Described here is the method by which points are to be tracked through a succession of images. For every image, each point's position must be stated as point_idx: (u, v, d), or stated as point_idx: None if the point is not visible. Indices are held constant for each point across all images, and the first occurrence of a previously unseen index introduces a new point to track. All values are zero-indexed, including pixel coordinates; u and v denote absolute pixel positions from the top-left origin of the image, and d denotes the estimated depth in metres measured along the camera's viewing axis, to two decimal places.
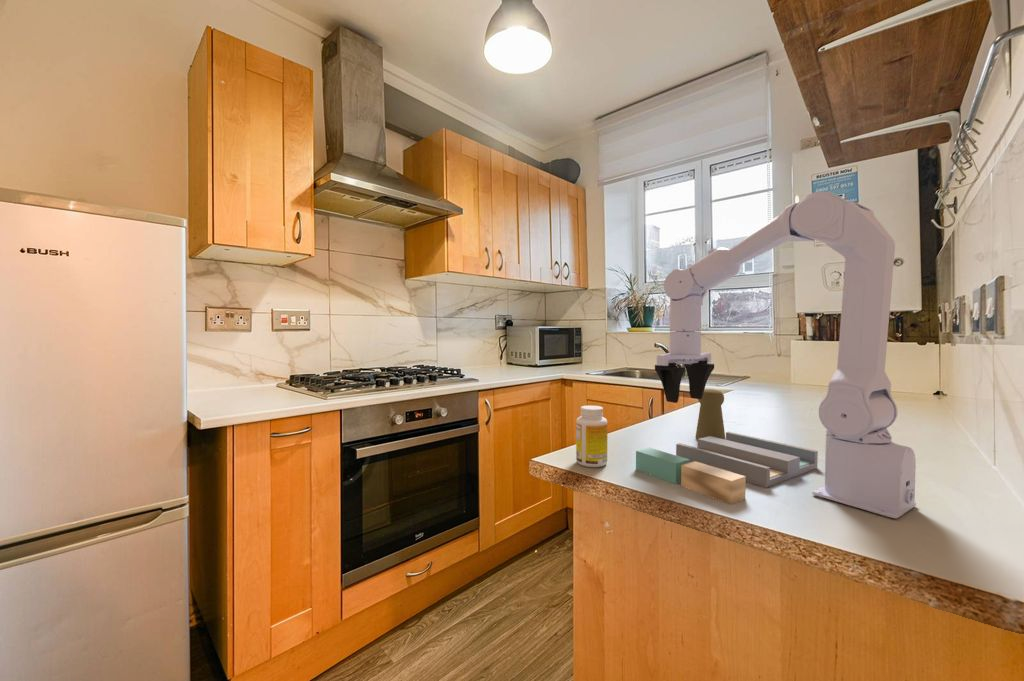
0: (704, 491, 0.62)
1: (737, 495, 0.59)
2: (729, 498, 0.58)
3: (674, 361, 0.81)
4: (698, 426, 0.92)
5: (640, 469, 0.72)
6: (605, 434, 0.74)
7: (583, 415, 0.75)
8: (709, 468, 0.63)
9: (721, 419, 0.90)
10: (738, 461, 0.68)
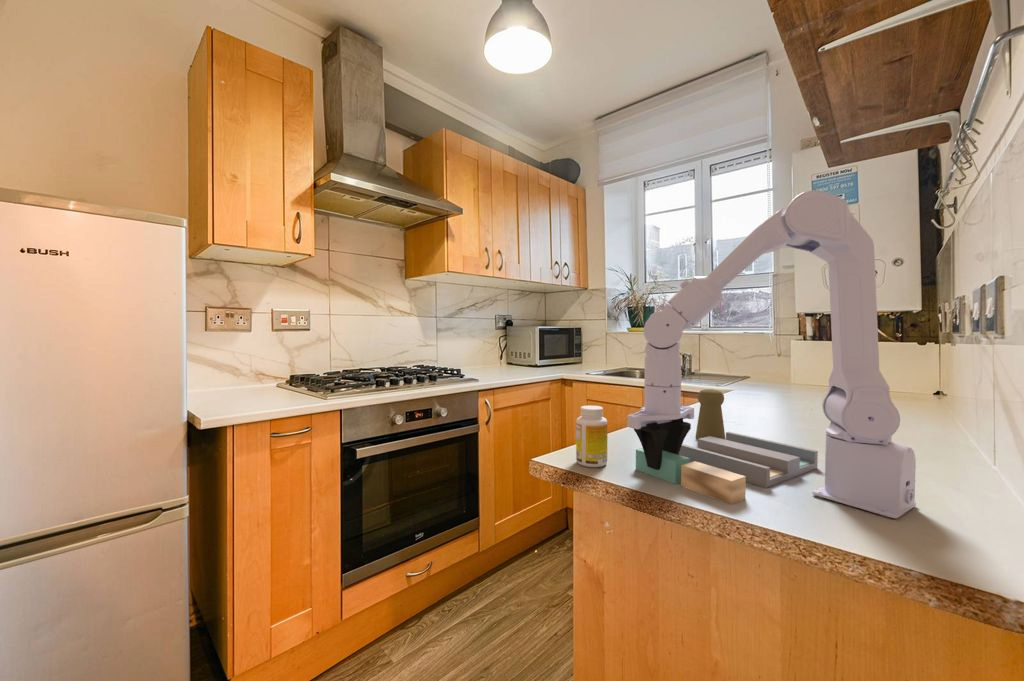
0: (704, 491, 0.62)
1: (737, 495, 0.59)
2: (729, 498, 0.58)
3: (649, 421, 0.68)
4: (698, 426, 0.92)
5: (640, 468, 0.72)
6: (605, 434, 0.74)
7: (583, 415, 0.75)
8: (709, 468, 0.63)
9: (721, 419, 0.90)
10: (738, 461, 0.68)
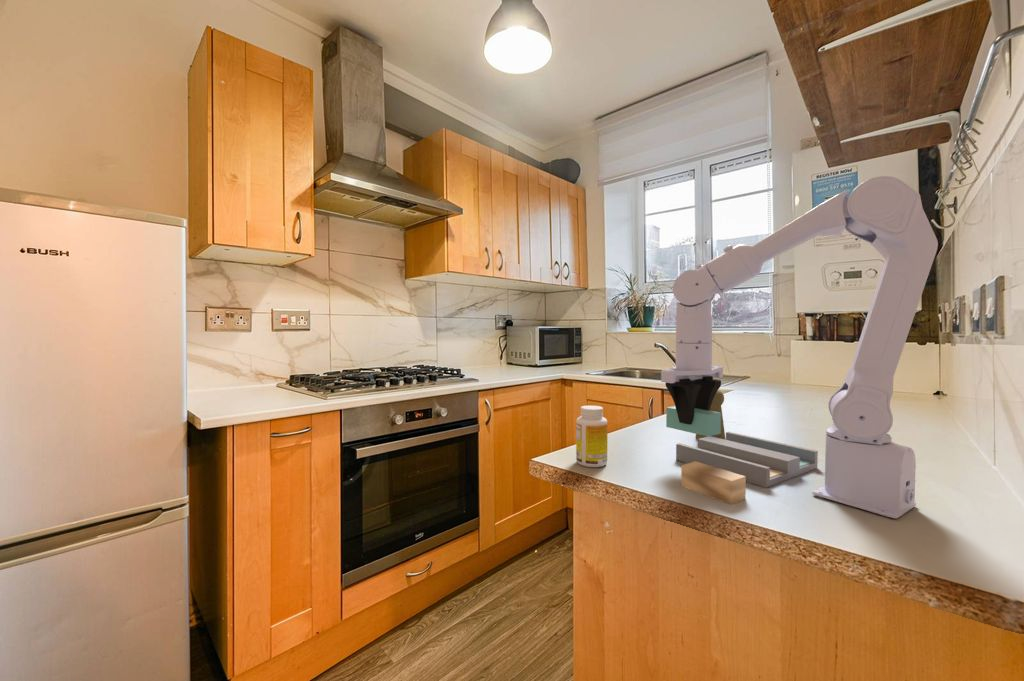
0: (704, 491, 0.62)
1: (737, 495, 0.59)
2: (729, 498, 0.58)
3: (681, 377, 0.70)
4: None
5: (671, 425, 0.74)
6: (605, 434, 0.74)
7: (583, 415, 0.75)
8: (709, 468, 0.63)
9: (721, 419, 0.90)
10: (738, 461, 0.68)
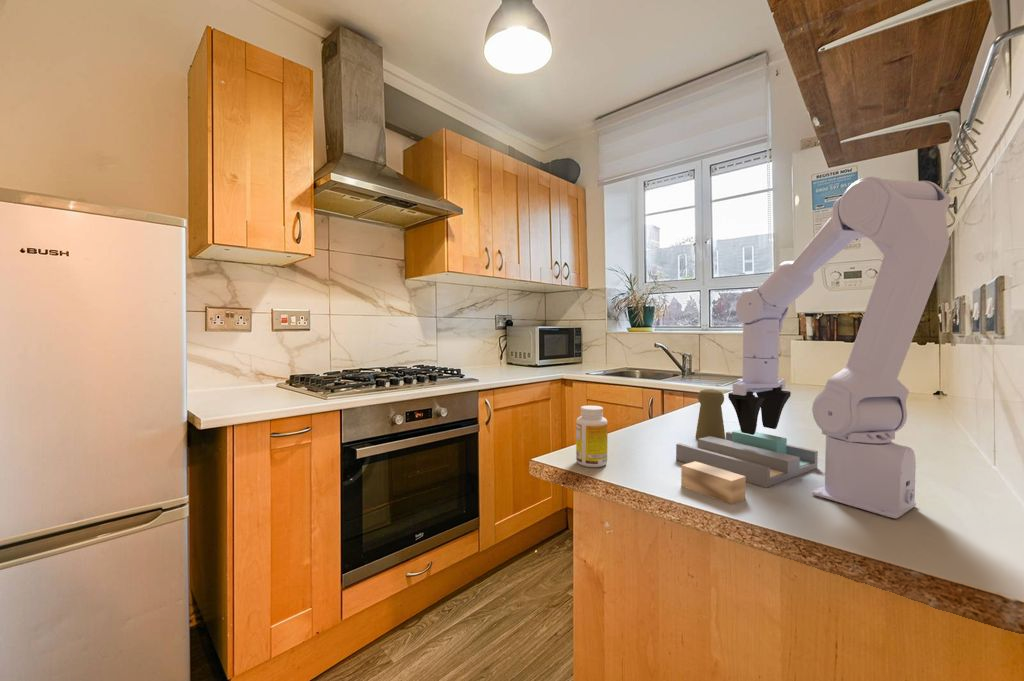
0: (704, 491, 0.62)
1: (737, 495, 0.59)
2: (729, 498, 0.58)
3: (750, 390, 0.75)
4: (698, 426, 0.92)
5: None
6: (605, 434, 0.74)
7: (583, 415, 0.75)
8: (709, 468, 0.63)
9: (721, 419, 0.90)
10: (738, 461, 0.68)
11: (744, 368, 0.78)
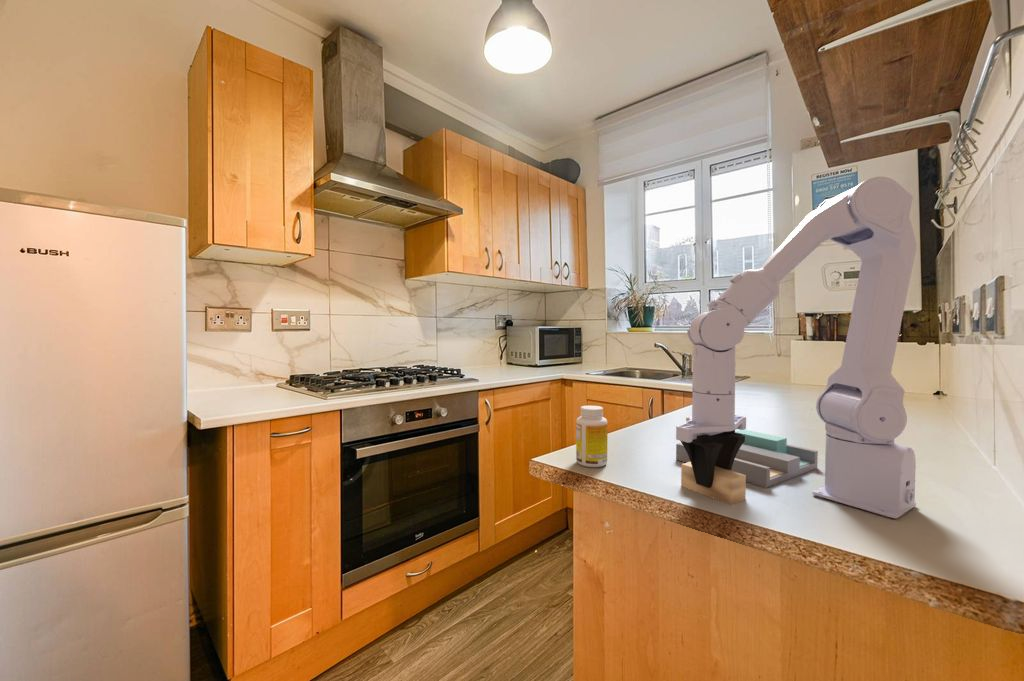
0: (704, 490, 0.62)
1: (737, 494, 0.59)
2: (729, 496, 0.58)
3: (699, 433, 0.60)
4: None
5: None
6: (605, 434, 0.74)
7: (583, 415, 0.75)
8: None
9: None
10: (738, 461, 0.68)
11: (693, 405, 0.62)
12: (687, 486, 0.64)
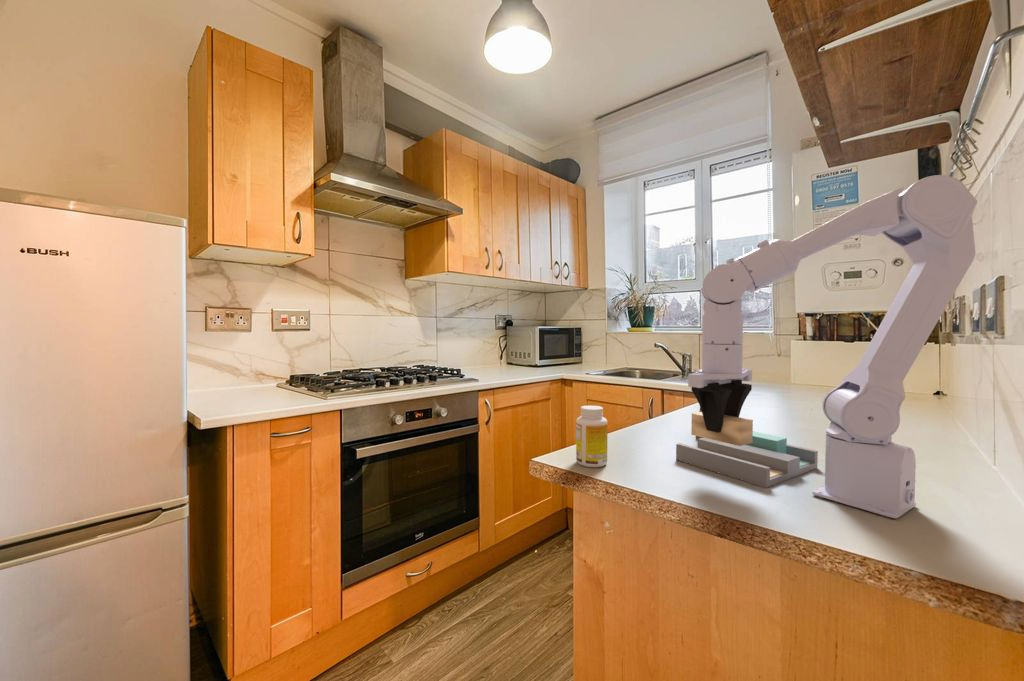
0: (714, 435, 0.66)
1: (745, 437, 0.63)
2: (738, 438, 0.62)
3: (710, 381, 0.64)
4: None
5: None
6: (605, 434, 0.74)
7: (583, 415, 0.75)
8: None
9: None
10: (738, 461, 0.68)
11: (703, 356, 0.66)
12: (697, 434, 0.68)
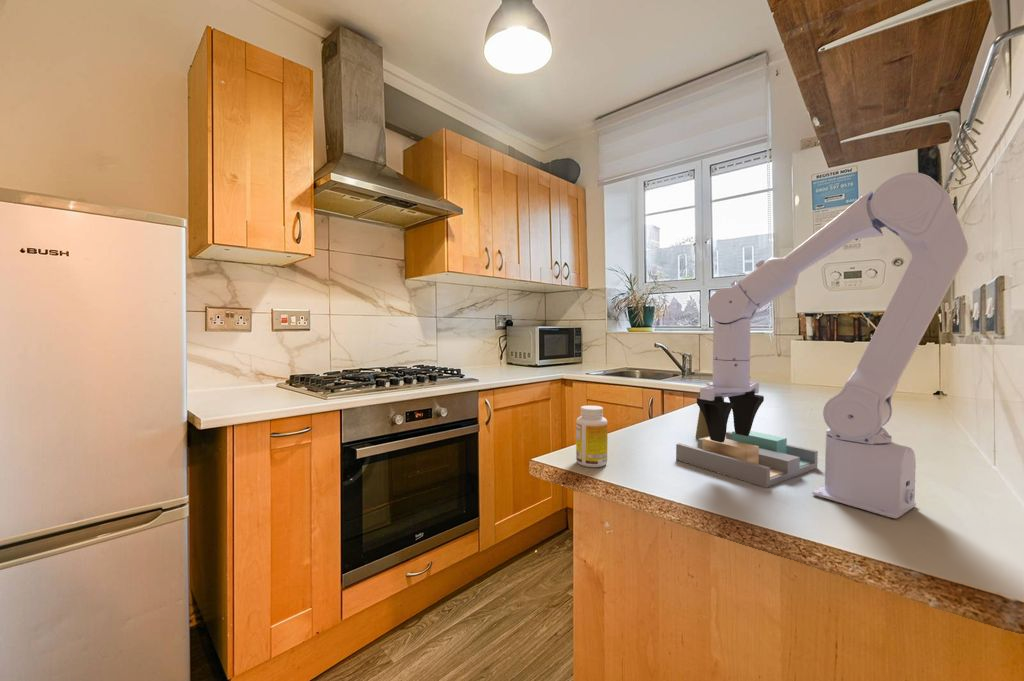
0: None
1: (752, 462, 0.69)
2: None
3: (720, 394, 0.70)
4: (698, 426, 0.92)
5: None
6: (605, 434, 0.74)
7: (583, 415, 0.75)
8: (726, 441, 0.74)
9: None
10: (738, 461, 0.68)
11: (714, 371, 0.72)
12: None
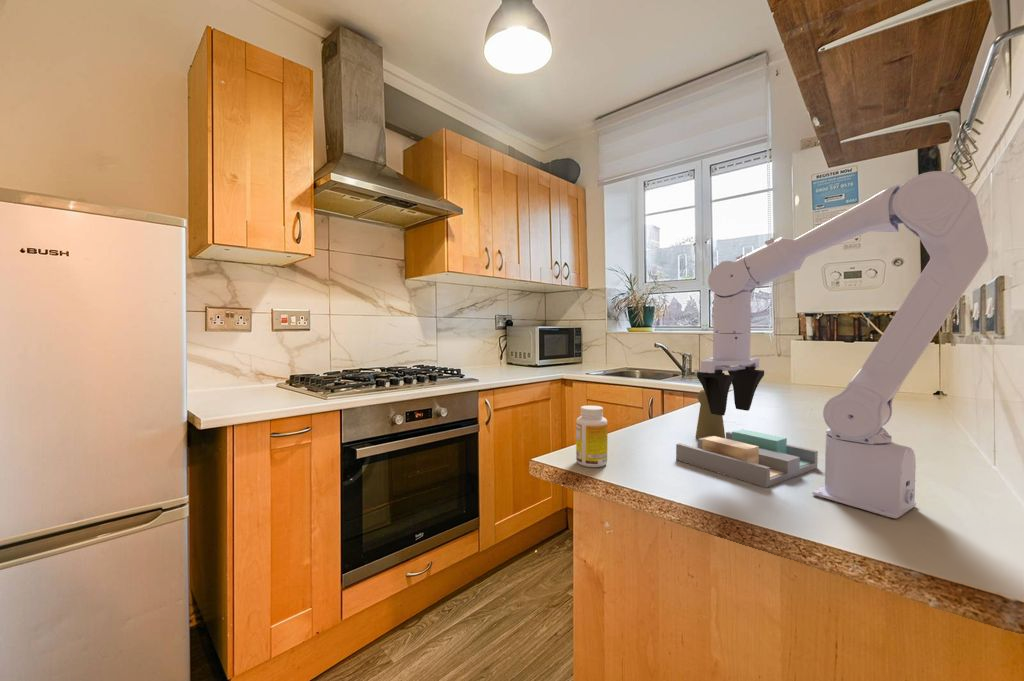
0: None
1: (752, 462, 0.69)
2: None
3: (720, 367, 0.70)
4: (698, 426, 0.92)
5: None
6: (605, 434, 0.74)
7: (583, 415, 0.75)
8: (726, 441, 0.74)
9: (721, 419, 0.90)
10: (738, 461, 0.68)
11: (714, 345, 0.72)
12: None
